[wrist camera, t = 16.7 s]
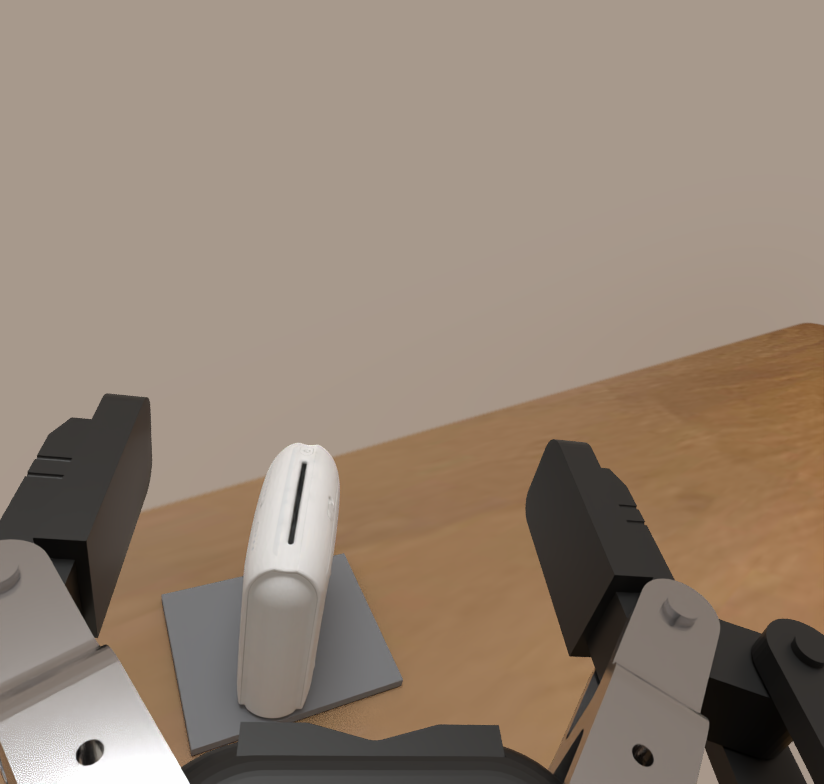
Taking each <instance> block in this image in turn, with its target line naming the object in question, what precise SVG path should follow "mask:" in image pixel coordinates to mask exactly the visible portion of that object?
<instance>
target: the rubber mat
mask: <svg viewBox="0 0 824 784" xmlns="http://www.w3.org/2000/svg"><path fill="white" fill-rule="evenodd" d="M243 578H244V576H242V577H238V578H233V579H229V580H225V581H220V582H216V583H211V584H207V585H203V586H198V587H194V588H189V589H185V590H181V591H176V592H172V593H167V594H163V595H162V605H163V610H164V615H165V620H166V626H167V631H168V636H169V641H170V647H171V652H172V657H173V662H174V667H175V673H176V678H177V683H178V688H179V693H180V699H181V704H182V709H183V714H184V720H185V725H186V730H187V735H188V740H189V746H190V751H191V756H193V755H196V754H199V753H202V752H205V751H208V750H211V749H214V748H217V747H220V746H223V745H226V744H229V743H232V742H235V741H238V739H239V731H240V723H241V722H294V721H297V720H300V719H303V718H306V717H309V716H312V715H315V714H318V713H321V712H324V711H327V710H330V709H333V708H336V707H339V706H342V705H345V704H348V703H351V702H354V701H357V700H360V699H363V698H366V697H368V696H371V695H374V694H377V693H380V692H383V691H386V690H389V689H392V688H395V687H398V686H401V685H402V681H403V679H402V677H401V674H400V672H399V670H398V668H397V666H396V664H395V662H394V659H393V657H392V655H391V653H390V651H389V649H388V647H387V644H386V642H385V640H384V638H383V636H382V634H381V632H380V629H379V627H378V625H377V623H376V621H375V619H374V617H373V614H372V612H371V610H370V608H369V606H368V604H367V602H366V599H365V597H364V595H363V593H362V591H361V589H360V587H359V585H358V582H357V580H356V578H355V576H354V574H353V572H352V570H351V567H350V565H349V563H348V561H347V559H346V557H345V555H344V554H339V555H335V556H333V560H332V565H331V575H330V578H329V582H328V587H327V593H326V598H325V604H324V610H323V615H322V621H321V627H320V633H319V639H318V645H317V651H316V658H315V667H314V670H313V675H312V681H311V685H310V689H309V692H308V695H307V698H306V700H305V703H304V705H303V707H302V709H295V711H294V712H293V713H291V714H289V715H287V716H284V717H280V718H264V717H260V716H258V715H255V714H253V713H252V712H250V711H249V710H248V709H247V708H246V706H245V705H244V704H239V703H238V696H237V672H238V652H239V636H240V622H241V607H242V593H243Z"/></svg>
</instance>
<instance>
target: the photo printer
mask: <svg viewBox="0 0 824 784" xmlns="http://www.w3.org/2000/svg"><path fill="white" fill-rule="evenodd" d="M339 498H340V484H339V476H338V471H337V467H336V464H335V462H334V460H333V458H332V456H331V455H330V454H329V452H328V451H327V450H325V449H324V448H323V447H321V446H320V445H305V444H302V443H294V444H292V445H289V446H288V447H286V448H285V449H283V450H282V451H281V452H280V453H279V454H278V455H277V457H276V458H275V459H274V461H273V462H272V464H271V466H270V467H269V469H268V472H267V474H266V477H265V480H264V483H263V486H262V489H261V493H260V496H259V500H258V504H257V508H256V512H255V515H254V520H253V524H252V529H251V534H250V538H249V544H248V549H247V554H246V560H245V567H244V578H243V593H242V607H241V622H240V636H239V652H238V672H237V696H238V703H239V704H244V705H245V706H246V708H247V709H248V710H249V711H250V712H252V713H253V714H255V715H258V716H260V717H264V718H280V717H284V716H287V715H289V714H291V713H293V712H294V711H295V709H302V707H303V705H304V703H305V700H306V698H307V695H308V692H309V689H310V685H311V681H312V675H313V670H314V667H315V658H316V651H317V645H318V639H319V633H320V627H321V621H322V615H323V610H324V604H325V598H326V593H327V587H328V582H329V578H330V575H331V565H332V560H333V553H334V546H335V539H336V531H337V522H338V511H339Z"/></svg>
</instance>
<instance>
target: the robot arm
mask: <svg viewBox="0 0 824 784" xmlns="http://www.w3.org/2000/svg"><path fill="white" fill-rule="evenodd" d="M150 415H151V414H150V401H149V399H148V398H147V397H136V396H126V395H117V394H105V395H104V396H103V398H102V400H101V402H100V404H99V406H98V408H97V410H96V412H95V414H94V416H93V418H92V419H82V418H70V419H69V420H67V421H66V422H65V423H63V424H62V425H61V426H60V427H58V428H57V429H55V430H54V431H53V432H51V433H50V434H49V435H48V437H47V439H46V440H45V442H44V444H43V446H42V448H41V449H40V451H39V453H38V455H37V459H35V460H34V462H33V463H32V465H31V467H30V469H29V470H28V474H27V477H26V476H25V478H24V479H23V481H22V483H21V484H20V486H19V488H18V490H17V492H16V493H15V495H14V497H13V499H12V500H11V502H10V504H9V506H8V508H7V509H6V511H5V513H4V514H3V516H2V518H1V520H0V773H1V775H2V778H3V780H4V783H5V784H697V779H698V775H699V770H700V766H701V762H702V757H703V753H704V748H705V749H706V752H707V754H708V757H709V760H710V762H711V765H712V767H713V770H714V772H715V775H716V777H717V780H718V782H719V784H807V783H806V781H805V779H804V777H803V775H802V773H801V771H800V769H799V767H798V765H797V763H796V761H795V759H794V757H793V755H792V753H791V751H790V748H789V747H788V745H789V744H790V743H791V742H792V741H794V743H795V745H796V747H797V749H798V751H799V753H800V755H801V757H802V759H803V761H804V763H805V765H806V767H807V769H808V771H809V773H810V775H811V777H812V779H813V782H814V784H824V635H823V634H821V633H820V632H818V631H817V630H815V629H814V628H812V627H810V626H808V625H806V624H804V623H801V622H799V621H795V620H791V619H777V620H775V621H772V622H771V623H770V624H769V625H768V627H767V628H766V629H765V630H764V631H763V633H762V634H761V633H758V632H755V631H752V630H749V629H746V628H743V627H740V626H737V625H734V624H731V623H728V622H725V621H722V620H720V619H718V616H717V614H716V612H715V610H714V609H713V608H712V606H711V605H710V604H709V602H708V601H707V600H706V599H705V598H704V597H703V596H702V595H701V594H699V593H698V592H697V591H695V590H694V589H692V588H691V587H689V586H687V585H685V584H683V583H681V582H678V581H675V580H674V578H673V576H672V574H671V572H670V570H669V568H668V566H667V564H666V562H665V560H664V558H663V556H662V554H661V552H660V550H659V548H658V546H657V545H656V543H655V541H654V539H653V537H652V535H651V533H650V531H649V529H648V527H647V525H644V522H645V521H644V519H643V517H642V515H641V513H640V511H639V510H637V509H636V506H637V505H636V504H635V502H634V500H633V498H632V496H631V494H630V492H629V490H628V488H627V486H626V485H625V484H624V483H623V482H622V481H621V480H620V479H619V478H618V477H617V476H616V475H615V474H614V473H613V472H612V471H611V470H610V469H607V468H601V467H600V465H599V463H598V461H597V459H596V456H595V454H594V452H593V450H592V448H591V446H590V445H589V444H588V443H585V442H575V441H565V440H555V439H553V440H551V441H550V442H549V443H548V444H547V446H546V448H545V451H544V453H543V456H542V458H541V461H540V463H539V466H538V468H537V471H536V473H535V476H534V478H533V481H532V483H531V486H530V488H529V491H528V494H527V498H526V519H527V523H528V526H529V529H530V533H531V536H532V539H533V542H534V545H535V549H536V552H537V555H538V558H539V561H540V564H541V568H542V571H543V574H544V577H545V580H546V583H547V587H548V590H549V593H550V596H551V599H552V602H553V606H554V609H555V612H556V615H557V618H558V622H559V625H560V628H561V631H562V634H563V637H564V641H565V644H566V647H567V650H568V653H569V656H574V657H592V660H593V663H594V666H595V669H594V671H593V672H592V674H591V676H590V677H589V679H588V682H587V684H586V686H585V689H584V691H583V693H582V695H581V698H580V700H579V702H578V705H577V707H576V709H575V712H574V714H573V716H572V718H571V721H570V723H569V725H568V728H567V730H566V732H565V734H564V737H563V739H562V741H561V744H560V746H559V748H558V750H557V753H556V755H555V757H554V759H553V761H552V763H551V765H550V766H549V768H548V770H547V769H546V768H544V767H543V766H542V765H540V764H539V763H537V762H536V761H534V760H532V759H530V758H529V757H527V756H525V755H523V754H521V753H519V752H516V751H514V750H512V749H509V748H506V747H503V745H502V740H501V735H500V730H499V725H435V726H431V727H428V728H424V729H420V730H416V731H413V732H409V733H405V734H402V735H398V736H394V737H390V738H387V739H383V740H378V741H377V740H368V739H364V738H361V737H357V736H353V735H350V734H346V733H343V732H339V731H336V730H332V729H328V728H325V727H321V726H318V725H314V724H310V723H294V722H241V723H240V731H239V739H238V742H237V743H233V744H229V745H226V746H222V747H220V748H217V749H215V750H212V751H210V752H207V753H205V754H203V755H201V756H199V757H197V758H196V759H194V760H192V761H190V762H189V763H187V764H186V765H184V766H183V767H181V768H180V766H179V764H178V762H177V761H176V759H175V757H174V755H173V754H172V752H171V750H170V748H169V747H168V745H167V743H166V741H165V740H164V738H163V736H162V734H161V733H160V731H159V729H158V727H157V726H156V724H155V722H154V720H153V719H152V717H151V715H150V714H149V712H148V710H147V708H146V707H145V705H144V703H143V701H142V700H141V698H140V696H139V694H138V693H137V691H136V689H135V687H134V686H133V684H132V682H131V680H130V679H129V677H128V675H127V673H126V672H125V670H124V668H123V666H122V665H121V663H120V661H119V659H118V658H117V656H116V655H115V653H114V652H113V650H112V649H111V648H110V647H109V646H108V645H103V646H100V645H99V644H98V643H97V641H96V640H95V638H98V636H99V633H100V630H101V627H102V624H103V621H104V618H105V615H106V612H107V609H108V606H109V603H110V600H111V597H112V595H113V592H114V589H115V586H116V583H117V580H118V577H119V574H120V571H121V568H122V565H123V562H124V559H125V556H126V553H127V550H128V547H129V544H130V541H131V538H132V535H133V532H134V529H135V526H136V523H137V520H138V517H139V514H140V512H141V509H142V505H143V502H144V500H145V497H146V494H147V491H148V486H149V482H150V477H151V468H152V445H151V416H150Z"/></svg>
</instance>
